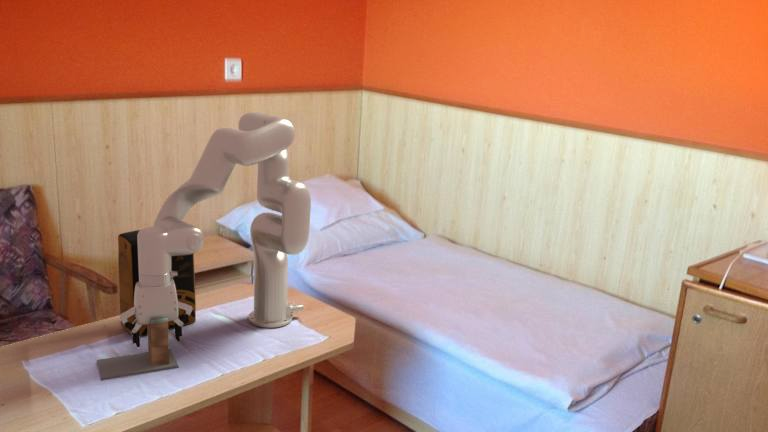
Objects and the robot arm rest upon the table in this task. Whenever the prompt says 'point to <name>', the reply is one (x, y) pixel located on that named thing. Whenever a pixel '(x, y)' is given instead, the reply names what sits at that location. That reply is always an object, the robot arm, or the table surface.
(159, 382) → the table surface
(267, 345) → the table surface
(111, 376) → the mat
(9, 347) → the table surface
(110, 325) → the table surface
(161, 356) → the block
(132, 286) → the black tall two-tone box
